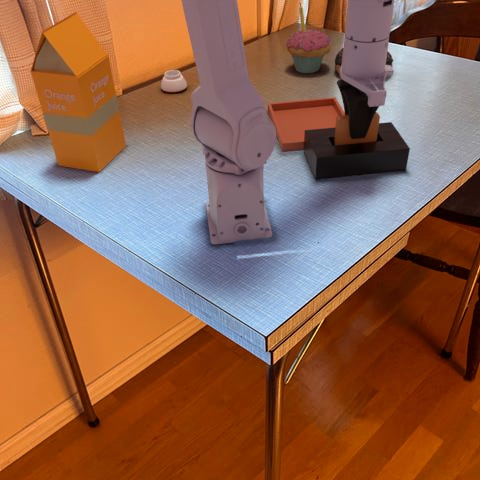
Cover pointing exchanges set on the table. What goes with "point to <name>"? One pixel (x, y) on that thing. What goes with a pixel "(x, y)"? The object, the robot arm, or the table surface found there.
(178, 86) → the lidless jar
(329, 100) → the red tray
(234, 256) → the table surface
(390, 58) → the donut
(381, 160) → the toaster
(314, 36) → the cupcake
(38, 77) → the orange juice
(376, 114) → the toast
